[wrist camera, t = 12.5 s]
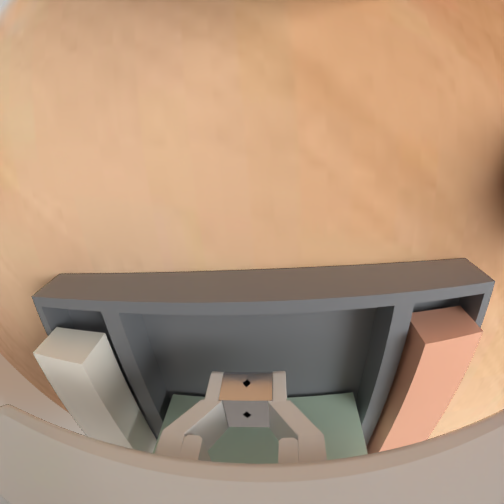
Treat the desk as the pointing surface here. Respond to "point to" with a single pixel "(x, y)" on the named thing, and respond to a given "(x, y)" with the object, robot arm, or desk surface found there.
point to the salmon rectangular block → (426, 376)
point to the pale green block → (265, 442)
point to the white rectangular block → (93, 387)
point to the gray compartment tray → (262, 325)
